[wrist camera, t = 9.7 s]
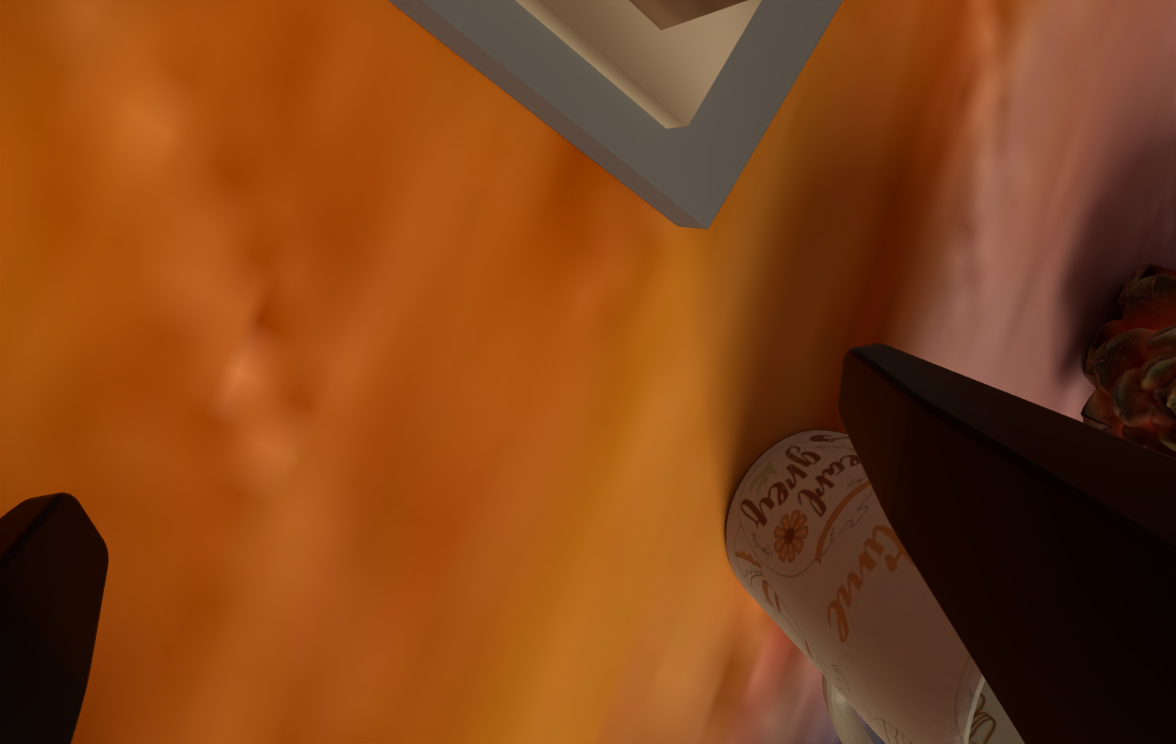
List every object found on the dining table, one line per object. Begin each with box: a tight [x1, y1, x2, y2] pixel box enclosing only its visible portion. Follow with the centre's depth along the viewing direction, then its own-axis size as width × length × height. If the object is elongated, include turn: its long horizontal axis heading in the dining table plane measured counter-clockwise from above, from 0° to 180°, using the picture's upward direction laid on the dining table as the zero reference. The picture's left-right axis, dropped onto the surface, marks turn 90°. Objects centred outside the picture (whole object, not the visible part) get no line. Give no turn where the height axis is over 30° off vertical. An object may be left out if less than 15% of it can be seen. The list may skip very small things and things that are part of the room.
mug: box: [726, 430, 1024, 744], centre depth 22 cm, size 8×13×10 cm, turn 7°
